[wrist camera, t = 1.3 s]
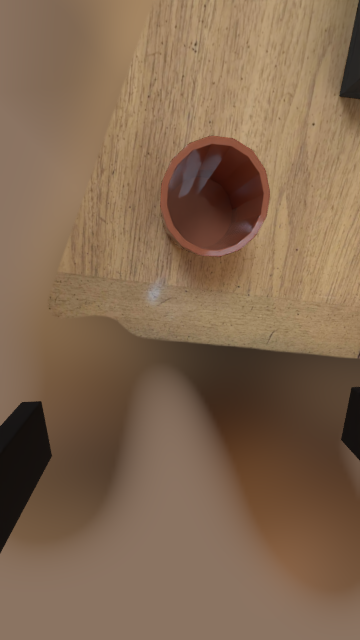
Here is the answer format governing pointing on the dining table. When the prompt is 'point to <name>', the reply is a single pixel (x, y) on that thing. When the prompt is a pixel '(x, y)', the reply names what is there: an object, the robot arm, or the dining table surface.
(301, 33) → the dining table surface
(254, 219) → the cup
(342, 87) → the bin
